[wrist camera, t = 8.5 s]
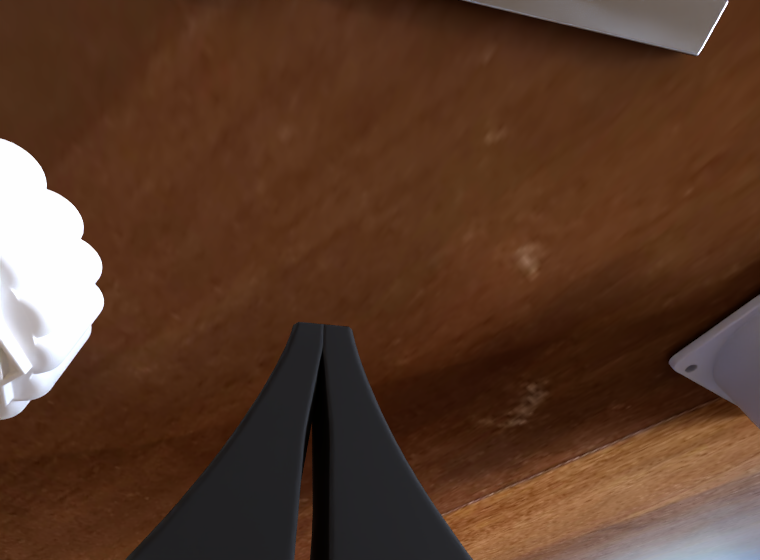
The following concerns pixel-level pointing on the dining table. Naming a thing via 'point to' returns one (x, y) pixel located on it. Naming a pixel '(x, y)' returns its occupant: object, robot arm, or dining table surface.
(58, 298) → the mooncake
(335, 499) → the robot arm
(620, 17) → the fork
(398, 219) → the dining table surface
